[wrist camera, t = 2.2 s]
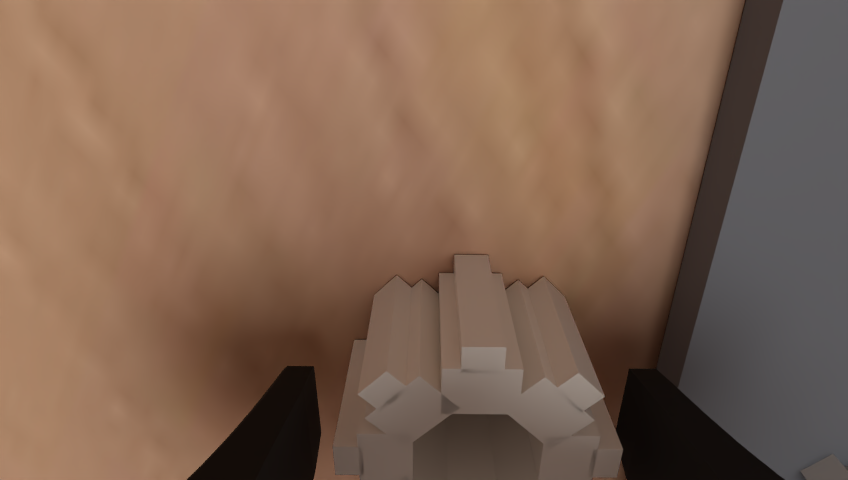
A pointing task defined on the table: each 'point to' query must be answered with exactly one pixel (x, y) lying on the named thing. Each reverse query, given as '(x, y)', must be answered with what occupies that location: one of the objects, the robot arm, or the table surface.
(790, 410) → the gear board
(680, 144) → the table surface
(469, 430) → the idler gear
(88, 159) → the table surface
